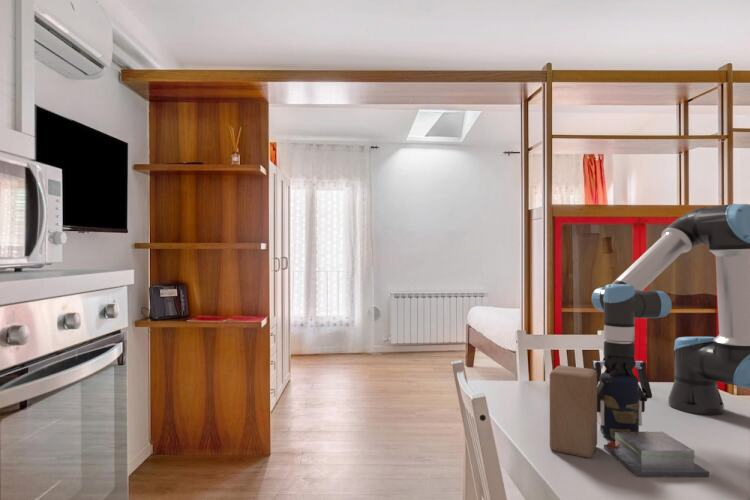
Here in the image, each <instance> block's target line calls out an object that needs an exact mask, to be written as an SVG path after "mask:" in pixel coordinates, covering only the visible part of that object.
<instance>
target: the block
mask: <svg viewBox="0 0 750 500" xmlns="http://www.w3.org/2000/svg"><path fill="white" fill-rule="evenodd" d="M597 387H598V386H597V372H596V370H594V369H593V368H587V367H579V366H578V367H577V366H570V365H568V366H567V365H562V364H561V365H558V366H556V367H555V368H554V369H552V371H550V373H549V448H550V450H551V451H554V452H558V453H563V454H567V455H568V454H569V455H572V456H576V457H577V456H578V457H583V458H587V459H588V458H592V456H593V454H594V451H595V450H596V447H597V445H598V422H597Z"/></svg>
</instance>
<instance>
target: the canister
mask: <svg viewBox="0 0 750 500" xmlns="http://www.w3.org/2000/svg"><path fill="white" fill-rule="evenodd" d="M609 374H610V373H609ZM600 381H601V384H604V392H605V393H604V395H603V397H602V400H603V401H604V425H600V424H599V425H600V432H601V434H602V435H603V436H605V437H607V438H609V439H612V440H615V432H640V425H639V389H638V384H639V377H638V376H636V375H635V374H634V376H629V375H625V376H608V375H606V374H604V372H601V374H600V378H599V382H600Z"/></svg>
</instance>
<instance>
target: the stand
mask: <svg viewBox="0 0 750 500" xmlns="http://www.w3.org/2000/svg"><path fill="white" fill-rule="evenodd" d="M614 440H615V441H609V442H608V443H606V444H603V449H604V450H605V451H606V452H607V453H608V454H610V455H611V457H613V458H614V459H616V460H617V461H618V462H619V463H620V464H622V465H623V466H624V467H626V469H627V470H629V471H630V472H631V473H632V474H634V475H635V476H636V478H637V477H643V478H644V477H645V478H646V477H650V478H652V477H653V478H654V477H656V478H657V477H661V478H665V477H666V478H668V477H669V478H670V477H673V478H675V477H679V478H681V477H682V478H683V477H685V478H687V477H688V478H689V477H690V478H694V477H695V478H696V477H698V478H702V477H703V478H705V477H706V478H708V477H710V472H709V471H708V470H706V469H704V468H703V467H702V466H700V465H698V464H697V463H696V462H695V459H696V456H695V450H694V449H692V448H691V447H689V446H687V445H686V444H683V442H681V441H679V440H677V439H676V438H674V437H672V436H671V435H669V434H667V433H666V432H664V431H639V432H615V439H614Z"/></svg>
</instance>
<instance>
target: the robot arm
mask: <svg viewBox="0 0 750 500" xmlns="http://www.w3.org/2000/svg"><path fill="white" fill-rule="evenodd" d="M660 235H661V237H660V238H659V239H657V240H656V241H655V242H654V243H653V244H652V245H651V246H650V247H649V248H648V249H647V250H645V252H644V253H642V255H641V256H640V257H638V259H636V260H635V261H634V262H633V263H632V264H631V265H630V266H629V267H628V268H627V269H626V270H624V271H623V273H621V274H620V275H619V276H618V277H617V278H616V279H615V280H614V281H613V282H612V283H611V284H610V283H609V284H606V285H605V286H602V287H598V288H595V289H594V291H593V292H592V294H591V303H592V305H593V307H594V308H595V309H596V310H597V311H600V312H603V339H604V342H603V355H604V356H603V359H602V360H592V362H591V364H592V365H591V366H592V369H594V370H596V372H597V424H599V425H604V401H603V400H602V397H603V395H604V393H605V392H604V384H601V381H600V375H601V374H602V369H603V368H604V367H605V371H604V372H603V373H604V374H606V375H608V376H625V375H629V376H634V375H635V374H634V372H633V369H634V368H636V372H637V378H638V381H639V383H638V389H639V426H642V425H643V424H642V423H643V418H642V417H643V414H642V413H644V412H645V410H646V409H645V408H646V407H645V405H646V402H647V401H648V399H652V398H653V393H652V389H651V386H650V381H649V378H648V374H647V363H646V362H644V361H643V360H640V359H639V360H635V353H636V351H635V349H636V348H635V347H636V346H635V344H636V343H635V344H634V341H636V339H635V337H636V336H635V333H636V332H635V325H636V324H635V323H636V321H635V320H636V319H658V318H664V317H667V316H668V315H669V314H670V313H671V311H672V308H673V307H672V305H673V304H672V299H671V297H670V295H668V293H666V292H664V291H662V290H654V289H653V290H645V289H646V288H647V287H648V286H649V285H650V284H651V283H652V282H653V281H654V280H655V279H656V278H657V277H658V276H659V275H660V274H661V273H663V272H664V271H665V270H666V269H667V268H668V267H669V266H670V265H671V264H672V263H673V262H674V261H676V259H677V258H678V257H679V256H681V254H684V253H685V254H686V253H688V252H690V251H691V250H692V249H693V248H694V247H697V246H702V245H708V250H709V252H710V253H712V255H714V256H715V271H716V273H715V274H716V293H717V295H716V296H717V298H716V299H717V316H718V335H717V336H716V337H715V336H681V337H680V336H679V337H677V338H676V339H675V340H674V346H673V347H674V348H673V360H674V361H673V362H674V367H673V369H674V371H673V372H674V373H673V374H674V381H673V384H672V387H671V390H670V391H669V395H668V398H667V399H668V400H667V402H668V405H669V406H670V407H672V408H674V409H675V410H678V411H682V412H686V413H691V414H698V415H707V416H708V415H711V416H712V415H714V416H715V415H721V414H723V413H724V412H725V405H724V402H723V399H722V396H721V394H720V391H719V388H718V382H720V383H722V384H726V385H732V386H734V387H737V388H740V389H748V390H750V203H749V204H748V203H733V204H732V203H731V204H725V205H715V206H704V207H702V206H701V207H698V208H695V209H692V210H690V211H687V212H686V213H684V214H683V215H681V216H680V217H678V218H677V219H675V220H674V221H672V222H671V223H670V224H669V225H668V226H667V227H666V228H664V230H662V232H661V234H660ZM609 373H610V374H609Z"/></svg>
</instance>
